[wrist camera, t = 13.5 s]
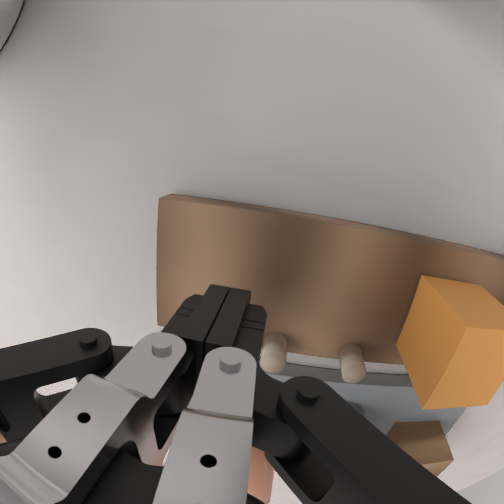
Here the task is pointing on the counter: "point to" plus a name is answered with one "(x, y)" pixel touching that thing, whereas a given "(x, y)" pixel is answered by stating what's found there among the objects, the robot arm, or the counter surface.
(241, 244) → the rail
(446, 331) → the orange block
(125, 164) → the counter surface
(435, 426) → the oak block
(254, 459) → the salmon domed cylinder
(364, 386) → the slate tray
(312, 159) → the counter surface
